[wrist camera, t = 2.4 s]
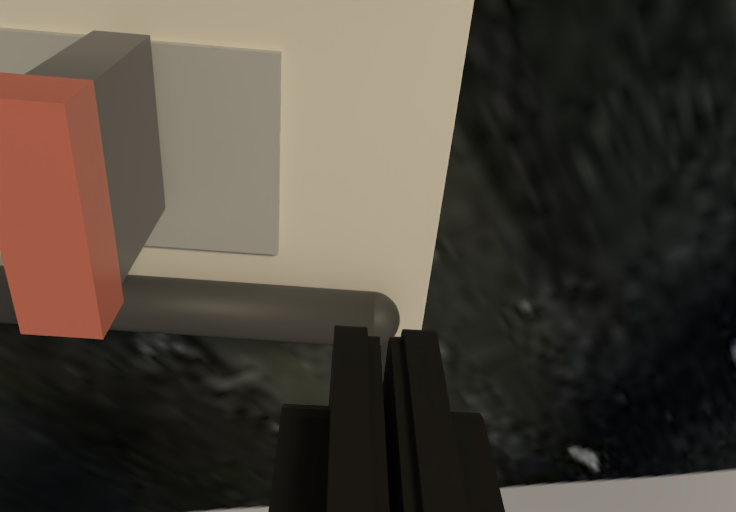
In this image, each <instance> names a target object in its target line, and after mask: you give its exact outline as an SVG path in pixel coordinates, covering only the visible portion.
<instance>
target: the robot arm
mask: <svg viewBox="0 0 736 512" xmlns="http://www.w3.org/2000/svg"><path fill="white" fill-rule="evenodd" d="M269 512H505V510H504V506H503V502H502V497H501V493H500V488H499V484H498V480H497V475H496V471H495V467H494V462H493V458H492V454H491V449H490V445H489V441H488V436H487V432H486V428H485V424H484V421H483V418H482V416H481V414H480V413H467V412H451V411H450V405H449V399H448V394H447V388H446V382H445V376H444V371H443V365H442V359H441V354H440V348H439V342H438V337H437V333H436V331H431V330H413V329H403V330H402V332H401V337H400V338H399V337H390V338H389V341H388V349H387V356H386V364H385V372H384V380H383V382H382V364H381V346H380V337H379V336H368V329H367V327H358V326H339V325H335V327H334V340H333V354H332V368H331V382H330V396H329V406H317V405H296V404H283V406H282V412H281V419H280V427H279V435H278V443H277V450H276V458H275V466H274V474H273V481H272V489H271V497H270V505H269Z"/></svg>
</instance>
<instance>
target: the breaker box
mask: <svg viewBox="0 0 736 512" xmlns="http://www.w3.org/2000/svg"><path fill="white" fill-rule="evenodd" d="M473 4H474V0H0V72H2V73H14V74H25V73H27V72H29V71H30V70H32V69H33V68H35V67H36V66H38V65H40V64H41V63H43V62H44V61H46V60H47V59H49V58H51V57H52V56H54V55H55V54H57V53H58V52H60V51H62V50H63V49H65V48H66V47H68V46H69V45H71V44H73V43H74V42H76V41H77V40H79V39H81V38H82V37H84V36H85V35H87V34H88V33H90V32H92V31H93V30H96V31H108V32H120V33H131V34H143V35H150V40H151V51H152V62H153V73H154V85H155V96H156V107H157V118H158V129H159V141H160V152H161V163H162V174H163V185H164V197H165V210H164V212H163V214H162V215H161V217H160V219H159V220H158V222H157V224H156V226H155V227H154V229H153V231H152V233H151V234H150V236H149V238H148V240H147V241H146V243H145V245H144V246H143V248H142V250H141V252H140V253H139V255H138V257H137V259H136V260H135V262H134V264H133V266H132V267H131V269H130V271H129V273H128V274H127V276H126V278H125V279H124V281H123V283H122V291H123V298H124V302H123V304H122V306H121V308H120V310H119V312H118V313H117V315H116V317H115V319H114V321H113V322H112V324H111V326H110V328H109V330H118V331H133V332H148V333H163V334H178V335H194V336H209V337H224V338H239V339H254V340H269V341H285V342H300V343H315V344H330V345H333V340H334V327H335V325H339V326H358V327H367V329H368V336H379V337H380V346H382V345H384V344H386V343H387V342H388V341H389V338H390V337H394V336H398V337H401V332H402V330H403V329H413V330H421V329H422V323H423V317H424V311H425V304H426V298H427V292H428V286H429V279H430V273H431V267H432V261H433V254H434V248H435V242H436V236H437V229H438V223H439V217H440V211H441V204H442V198H443V192H444V186H445V179H446V173H447V167H448V161H449V154H450V148H451V142H452V135H453V129H454V123H455V117H456V110H457V104H458V98H459V92H460V85H461V79H462V73H463V67H464V60H465V54H466V48H467V42H468V35H469V29H470V23H471V17H472V10H473ZM0 323H12V324H18V321H17V317H16V313H15V309H14V305H13V301H12V297H11V293H10V289H9V285H8V281H7V277H6V273H5V269H4V264H3V260H2V256H1V252H0Z"/></svg>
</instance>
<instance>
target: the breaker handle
mask: <svg viewBox="0 0 736 512" xmlns="http://www.w3.org/2000/svg"><path fill="white" fill-rule="evenodd" d="M164 210H165V197H164V185H163V174H162V163H161V152H160V141H159V129H158V118H157V107H156V96H155V85H154V73H153V62H152V51H151V40H150V35H143V34H131V33H120V32H108V31H96V30H93V31H92V32H90V33H88V34H87V35H85V36H84V37H82V38H81V39H79V40H77V41H76V42H74V43H73V44H71V45H69V46H68V47H66V48H65V49H63V50H62V51H60V52H58V53H57V54H55V55H54V56H52V57H51V58H49V59H47V60H46V61H44V62H43V63H41V64H40V65H38V66H36V67H35V68H33V69H32V70H30V71H29V72H27V73H25V74H14V73H2V72H0V252H1V256H2V260H3V264H4V269H5V273H6V277H7V281H8V285H9V289H10V293H11V297H12V301H13V305H14V309H15V313H16V317H17V321H18V325H19V329H20V333H21V334H29V335H44V336H60V337H75V338H90V339H104V337H105V335H106V333H107V332H108V330H109V328H110V326H111V324H112V322H113V321H114V319H115V317H116V315H117V313H118V312H119V310H120V308H121V306H122V304H123V302H124V298H123V291H122V283H123V281H124V279H125V278H126V276H127V274H128V273H129V271H130V269H131V267H132V266H133V264H134V262H135V260H136V259H137V257H138V255H139V253H140V252H141V250H142V248H143V246H144V245H145V243H146V241H147V240H148V238H149V236H150V234H151V233H152V231H153V229H154V227H155V226H156V224H157V222H158V220H159V219H160V217H161V215H162V214H163V212H164Z"/></svg>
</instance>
